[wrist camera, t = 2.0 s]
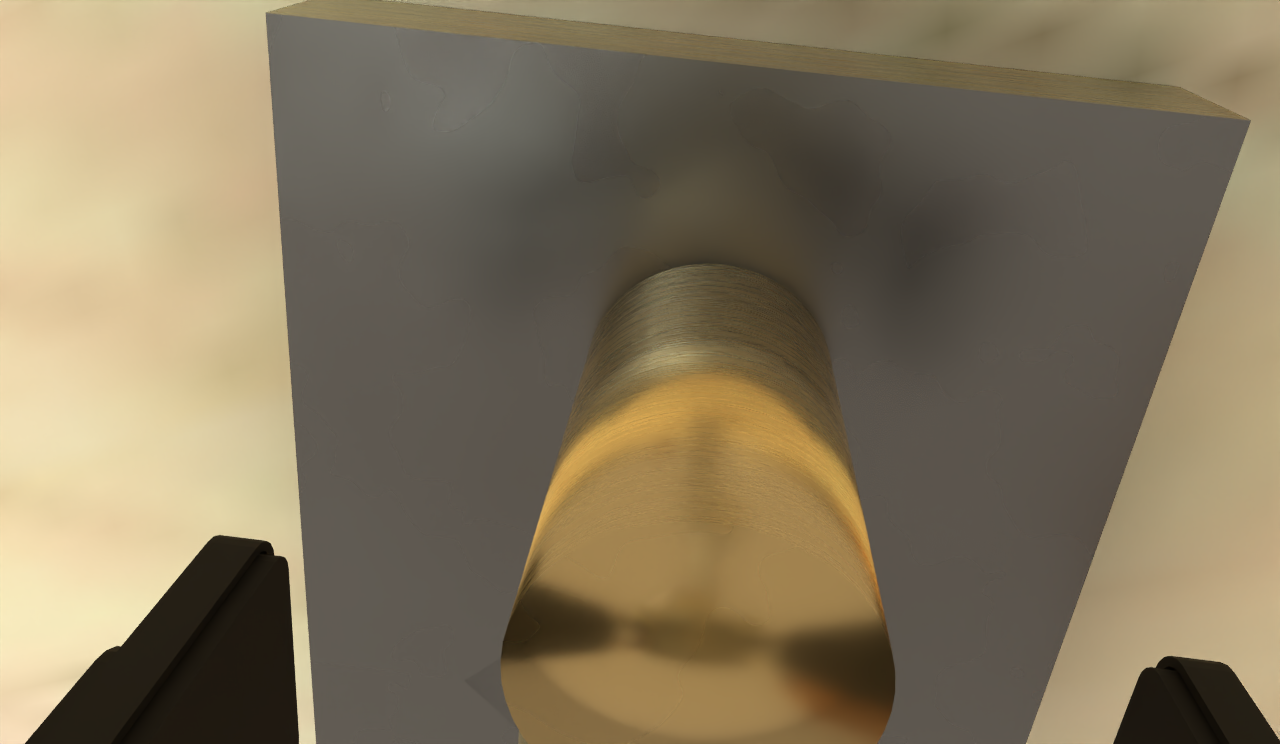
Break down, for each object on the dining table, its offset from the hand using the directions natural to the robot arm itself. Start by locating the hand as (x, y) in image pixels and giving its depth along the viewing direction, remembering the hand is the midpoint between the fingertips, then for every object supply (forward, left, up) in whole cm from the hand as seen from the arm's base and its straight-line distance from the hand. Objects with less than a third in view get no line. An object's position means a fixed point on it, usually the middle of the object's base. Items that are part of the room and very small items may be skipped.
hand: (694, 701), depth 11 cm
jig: (+4, 0, -9) cm, 10 cm away
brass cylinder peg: (-1, 0, -6) cm, 6 cm away
